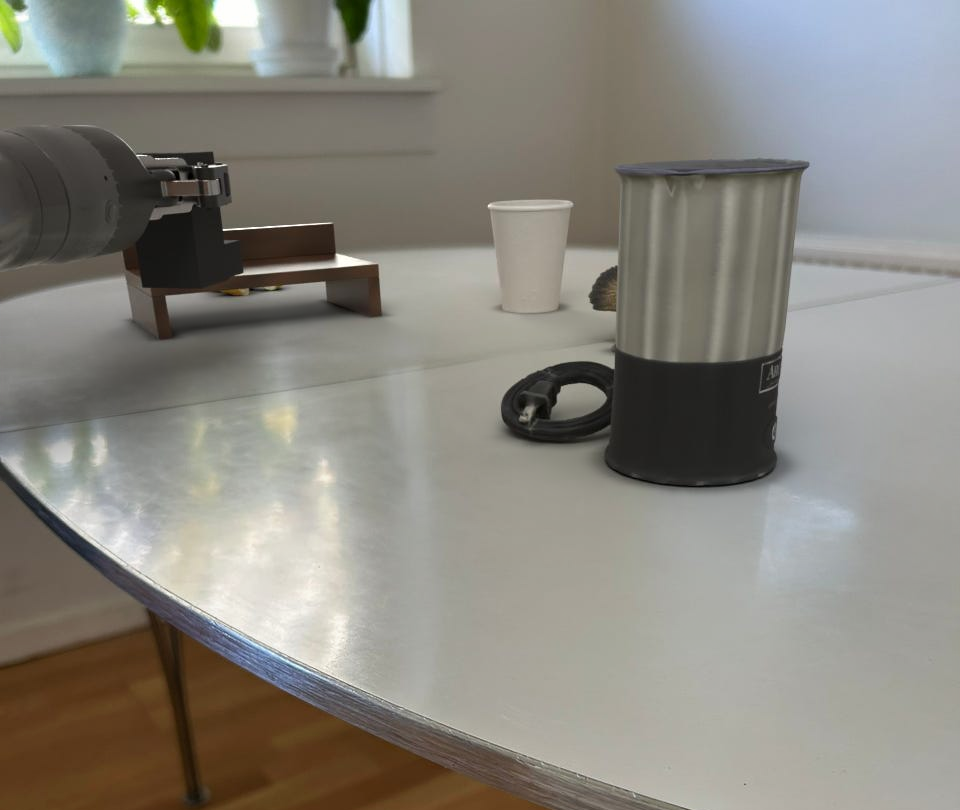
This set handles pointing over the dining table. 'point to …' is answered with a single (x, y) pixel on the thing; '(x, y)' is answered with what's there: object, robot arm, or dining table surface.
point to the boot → (187, 243)
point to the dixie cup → (530, 252)
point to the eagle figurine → (605, 292)
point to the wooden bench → (269, 272)
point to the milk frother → (687, 325)
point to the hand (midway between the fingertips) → (188, 181)
